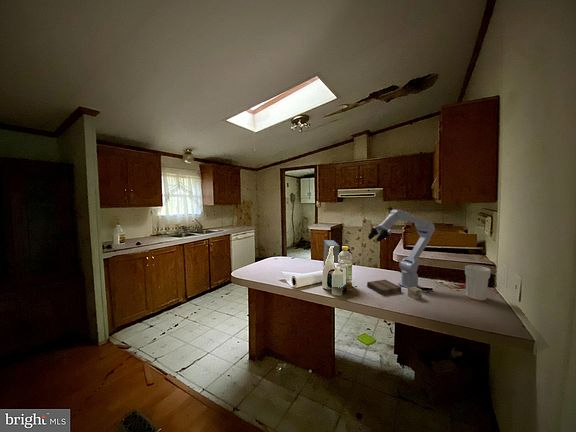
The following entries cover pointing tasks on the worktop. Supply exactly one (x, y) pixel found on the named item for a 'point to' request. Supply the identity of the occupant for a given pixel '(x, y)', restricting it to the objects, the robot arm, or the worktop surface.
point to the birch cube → (414, 292)
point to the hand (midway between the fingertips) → (373, 239)
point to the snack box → (326, 249)
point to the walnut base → (384, 287)
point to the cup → (477, 282)
